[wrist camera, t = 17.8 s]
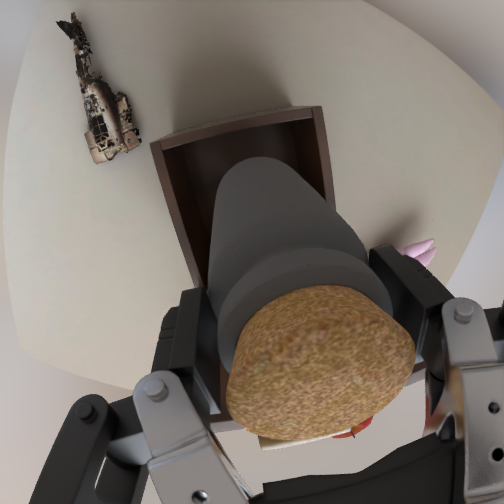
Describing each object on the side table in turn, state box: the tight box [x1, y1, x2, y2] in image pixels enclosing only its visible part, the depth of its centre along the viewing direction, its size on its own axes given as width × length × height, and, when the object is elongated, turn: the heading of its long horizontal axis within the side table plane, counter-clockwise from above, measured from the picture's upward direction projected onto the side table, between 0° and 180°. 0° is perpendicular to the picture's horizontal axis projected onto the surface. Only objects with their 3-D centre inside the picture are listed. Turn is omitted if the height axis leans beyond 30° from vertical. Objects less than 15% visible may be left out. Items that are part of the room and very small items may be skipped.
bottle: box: [208, 157, 416, 440], centre depth 13 cm, size 6×6×15 cm
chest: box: [150, 106, 336, 296], centre depth 27 cm, size 14×13×10 cm
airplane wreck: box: [56, 12, 142, 164], centre depth 22 cm, size 6×18×6 cm, turn 17°
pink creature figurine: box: [396, 239, 436, 266], centre depth 35 cm, size 6×6×15 cm
